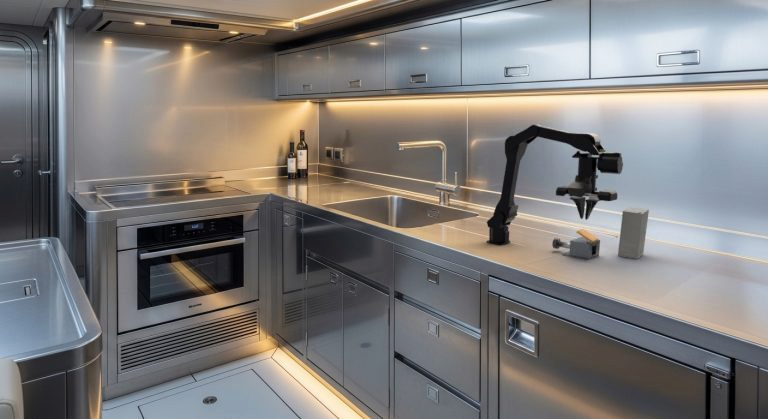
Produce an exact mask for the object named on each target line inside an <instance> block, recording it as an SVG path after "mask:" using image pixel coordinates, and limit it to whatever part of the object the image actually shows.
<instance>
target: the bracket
mask: <svg viewBox="0 0 768 419" xmlns="http://www.w3.org/2000/svg"><path fill="white" fill-rule="evenodd" d="M596 237H597V238H598V236H596ZM569 243H570V249H569V250H568V251H566V252H563V253H562V254H561V255H562V256H565V257H571V258H575V259H580V260H586V261H589V260H592V259H595V258H598V257H599V256H600V250H601V248H600V245H601V240H600V239H599V238H598V241H595V242H592V243H591V242H590V240H587V239H585V238H584V237H582V236H581V237H576V238H574V239H571V240H569Z"/></svg>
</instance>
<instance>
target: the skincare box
mask: <svg viewBox="0 0 768 419" xmlns="http://www.w3.org/2000/svg"><path fill="white" fill-rule="evenodd" d="M649 213H650V209H647V208H641V207H635V206H629V207H627V208H626V209H624V210H622V216H621V224H620V233H619V242H618V250H617V256H618V257H624V258H628V259H635V260H638V259H639V258H640V257H642V256H643V254H644V253H645V252H644V250H645V242H646V235H647V234H646V233H647V228H648V220H649Z"/></svg>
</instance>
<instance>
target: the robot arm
mask: <svg viewBox="0 0 768 419" xmlns="http://www.w3.org/2000/svg"><path fill="white" fill-rule="evenodd" d="M537 138H542V139H546V140H550V141H555V142H557V143H563V144H566V145H569V146H571V147H573V148H574V149H577V151H576V152H575V153H574V154H573V155H572V156H571V157H572V158H573V159H578V161H577V164H578V166H577V174H576V175H575V178H574V181H572V182H571V183H570V184H569V185H563V186H558V187H556V189H555V196H558V197H564V196H566V195H568V197H569V200H570V201H571V200H572V201H573V203H574V204H575V206H576V208H577V212H578V215H579V218H580V220H582V219H584V220H589V218H590V216H591V214H592V212H593V210H594V208H595V207H596V205H597V204H598V202H601V201H602V202H612V201H616V200H618V192H617V191H616V190H611V189H610V190H608V189H604V190H599V191H598V187H596V185H597V179H598V178H599V175H598V174H597V172H598V171H599V172H600V173H601V174H612V175H614V174H615V175H621V173H622V171H623V168H624V162H623V157H622V152H619V151H618V152H607V151H606V149H605V148H604V146H603V145H602V143H601V139H600V136H599V135H598V134H596V133H593V132H573V131H572V132H571V131H567V130H562V129H557V128H553V127H549V126H543V125H541V124H538V123H537V124H531V125H530V126H528V127H527V128H525V129H524V130H522V131H520V132H518V133H515V135H510V136H508V137H507V138H506V139H505V141H504V155H505V158H506V162H505V168H504V173H503V174H504V176H503V180H502V188H501V194H500V199H499V201H498V202H497V204H496V206H495V209H494V210H493V211H494V212H493V214H492V217H490V218H489V219H488V220H487V221H486V224H487V228H489V229H488V230H489V232H488V233H489V235H488V236H489V238H488V240H486V243H489V244H493V245H500V246H502V245H505V244H509V243H511V240H510V230H509V226H510V225H511V223H512V221H514V220H515V218H516V217H517V216H518V209H519V204H516V203H515V193H516V188H517V183H518V182H517V181H518V176H519V169H520V165H521V164H520V163H521V161H522V158H523V157H524V155H525V153H526V151H527V148H528V145H529V144H531V143H532V142H534V141H535V140H536V139H537ZM597 170H598V171H597ZM586 197H588V198H587V199H586ZM584 217H585V218H584Z"/></svg>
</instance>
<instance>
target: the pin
mask: <svg viewBox="0 0 768 419" xmlns="http://www.w3.org/2000/svg"><path fill="white" fill-rule="evenodd" d="M551 244H552V248H553V249H557V250H559V249H560V248H564V249H568V250H570V242H567V241H566V242H565V241H561V238H558V237H557V238H556V237H555V238H553V240H552V243H551Z"/></svg>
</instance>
